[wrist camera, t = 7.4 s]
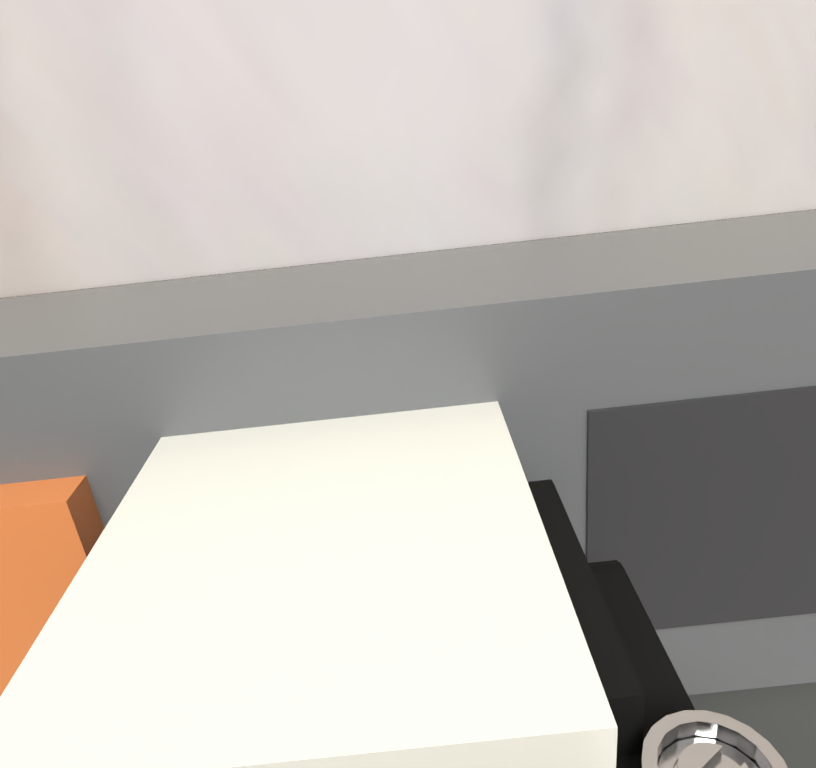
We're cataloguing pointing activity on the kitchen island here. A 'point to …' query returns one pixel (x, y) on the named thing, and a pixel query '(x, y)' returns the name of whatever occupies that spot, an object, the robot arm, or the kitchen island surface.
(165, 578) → the block
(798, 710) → the mat
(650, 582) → the power strip
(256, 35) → the kitchen island surface
